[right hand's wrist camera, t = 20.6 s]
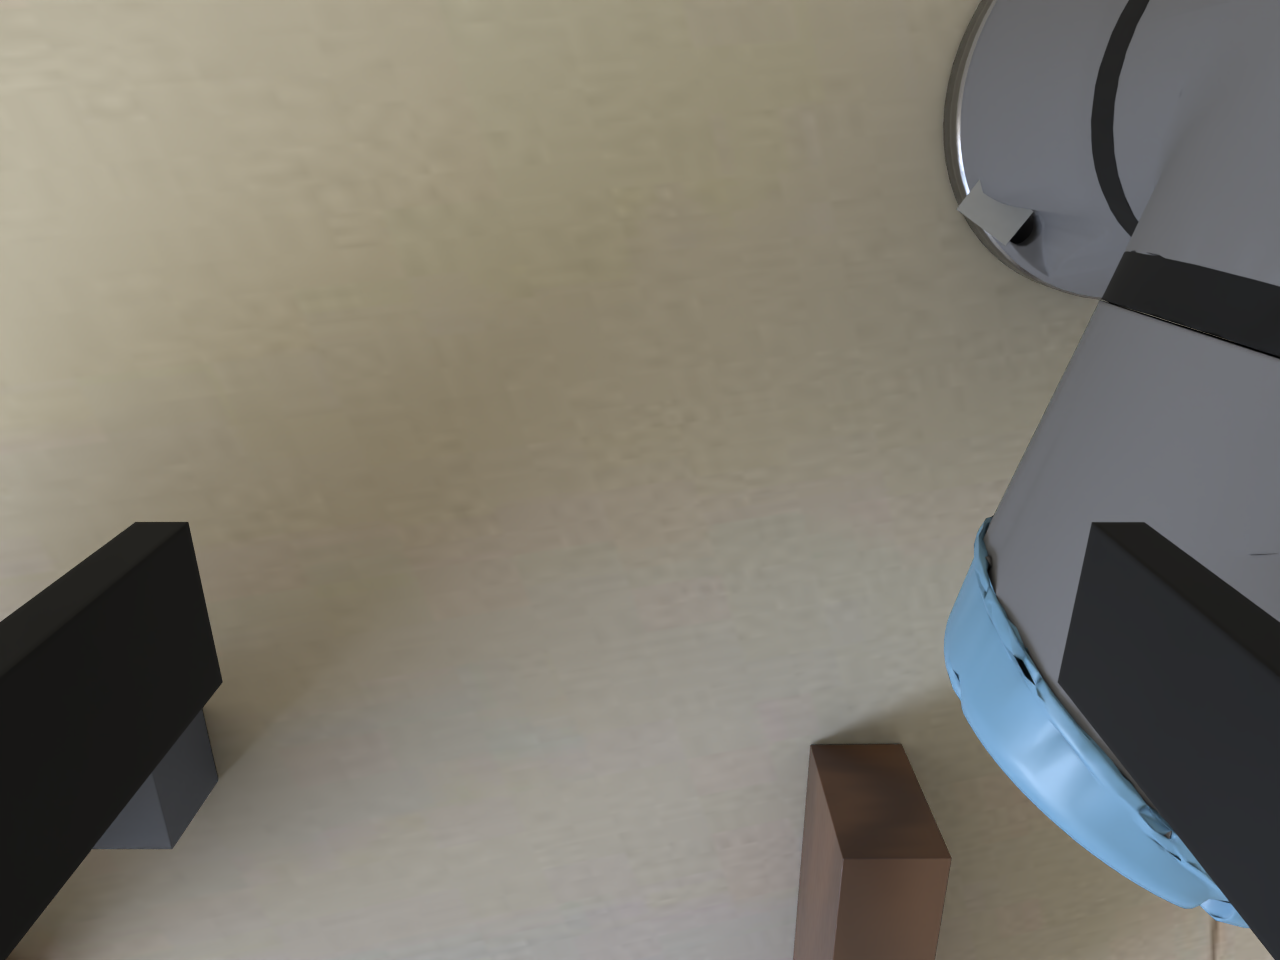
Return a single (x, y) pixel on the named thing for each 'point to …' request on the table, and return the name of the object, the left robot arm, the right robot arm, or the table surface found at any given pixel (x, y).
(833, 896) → the brown rectangular block
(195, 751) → the slate grey block
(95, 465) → the table surface
